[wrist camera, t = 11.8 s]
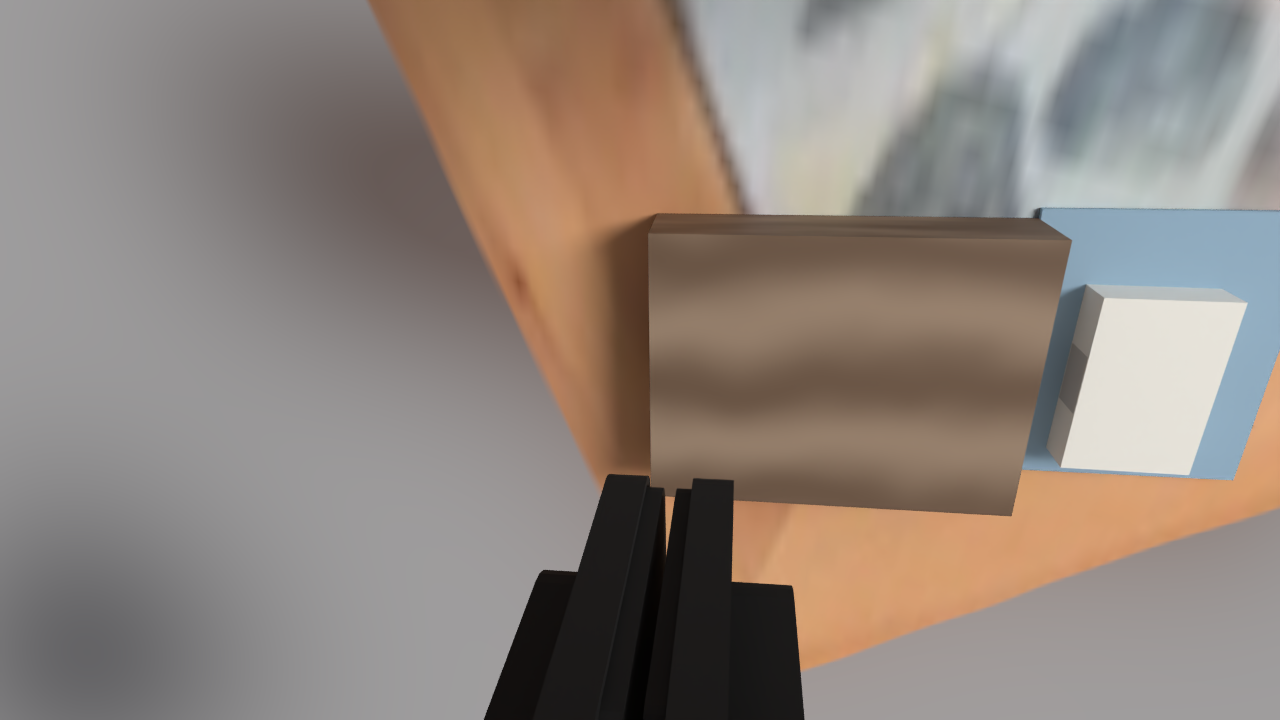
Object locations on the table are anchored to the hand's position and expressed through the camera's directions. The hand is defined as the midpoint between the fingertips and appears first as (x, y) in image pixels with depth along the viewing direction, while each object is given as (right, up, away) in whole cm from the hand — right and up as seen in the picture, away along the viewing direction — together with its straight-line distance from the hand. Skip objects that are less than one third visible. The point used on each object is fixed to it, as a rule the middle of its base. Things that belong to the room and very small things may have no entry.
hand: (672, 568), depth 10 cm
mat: (+24, +3, +27) cm, 37 cm away
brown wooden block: (+9, +3, +29) cm, 31 cm away
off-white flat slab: (+24, +2, +26) cm, 36 cm away
